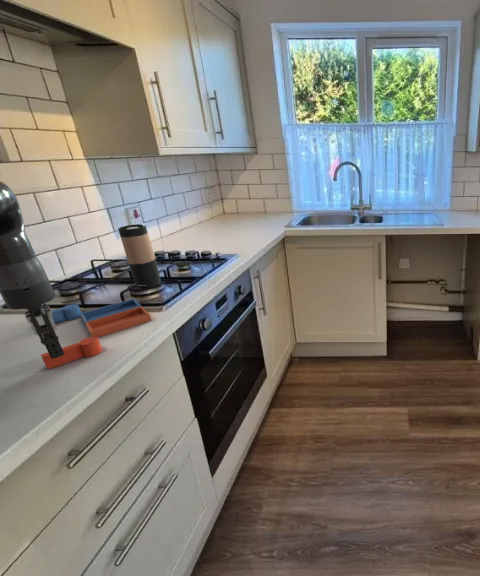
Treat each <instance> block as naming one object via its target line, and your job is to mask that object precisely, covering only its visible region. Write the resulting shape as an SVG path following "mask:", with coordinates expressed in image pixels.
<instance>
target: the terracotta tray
mask: <svg viewBox="0 0 480 576" xmlns="http://www.w3.org/2000/svg"><path fill="white" fill-rule="evenodd" d="M150 321H152V318H151V315H150V313H149V312H148V311H147V310H146V309H145V308H144V307H143V306H142V305H141V307H137V308H134V309H130V310H127V311H124V312H120V313H117V314H113V315H110V316H106V317H103V318H100V319H96V320H93V321H89V322H86V325H85V327H86V326H87V327H86V328H87V330H88V332H89V333H90V335H91V336H90V337H97V338H100V337H103V336H106V335H110V334H113V333H116V332H120V331H123V330H126V329H128V328H132V327H135V326H137V325H141V324H143V323H148V322H150Z"/></svg>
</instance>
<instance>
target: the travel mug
mask: <svg viewBox="0 0 480 576" xmlns="http://www.w3.org/2000/svg"><path fill="white" fill-rule="evenodd" d="M117 230H118V233H119V236H120V240H121V243H122V246H123V249H124V253H125V256H126V261H127V263H128V266H129V269H130V271H131V274H132V277H133V279H134V282H135V285H136V284H139V285H147V286H138V285H136V287H137V286H138V287H139V288H138V287H137V288H138V289H141V290H142V289H144V290H145V289H151V288H154V287H158V286H159V285H161V284H162V280H161V279H162V278H161V275H160V272H159V268H158V263H157V259H156V256H155V252H154V249H153V245H152V243H151V240H150V235H149V233H148V229H147V225H143V224H140V223H138V224H136V223H135V224H128V225H124V226H120V227H118V228H117Z"/></svg>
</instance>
